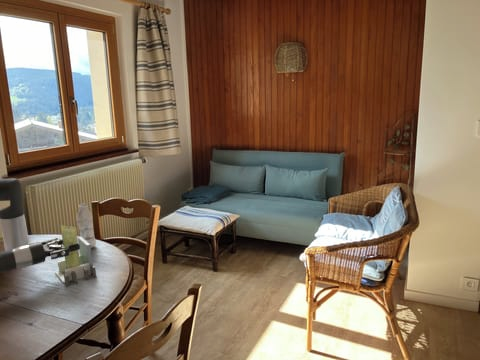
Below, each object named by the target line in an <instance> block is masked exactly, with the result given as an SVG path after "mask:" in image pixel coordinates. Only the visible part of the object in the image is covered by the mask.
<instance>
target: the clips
mask: <svg viewBox="0 0 480 360" xmlns="http://www.w3.org/2000/svg"><path fill="white" fill-rule="evenodd" d="M90 267H91V274H90V275H89V271H88V269H87V268H86V267H85V268H83V270H84V277H83V278H84V279H85V280H86V281H89V280H92V279H95V278H97V271H96V266H95V265H94V264H93V265H92V266H90ZM63 275H64V281H65V283H64V284H65V286H66V287H70V286H74V285H76V284H78V279H77V277H76V273H75V272H74V271H72V272H71V275H72V280H71V281H69V276H68V274H67V273H65V272H64V273H63Z"/></svg>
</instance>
